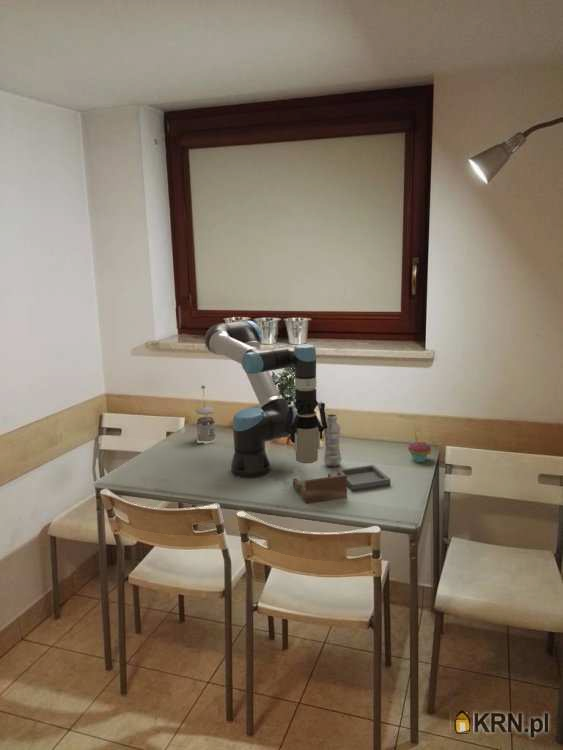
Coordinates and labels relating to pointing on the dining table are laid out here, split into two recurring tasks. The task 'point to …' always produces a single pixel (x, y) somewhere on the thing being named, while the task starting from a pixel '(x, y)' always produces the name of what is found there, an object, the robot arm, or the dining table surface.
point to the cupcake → (419, 450)
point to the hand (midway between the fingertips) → (306, 448)
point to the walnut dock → (322, 488)
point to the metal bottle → (332, 441)
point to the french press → (205, 423)
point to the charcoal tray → (364, 478)
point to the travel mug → (307, 438)
